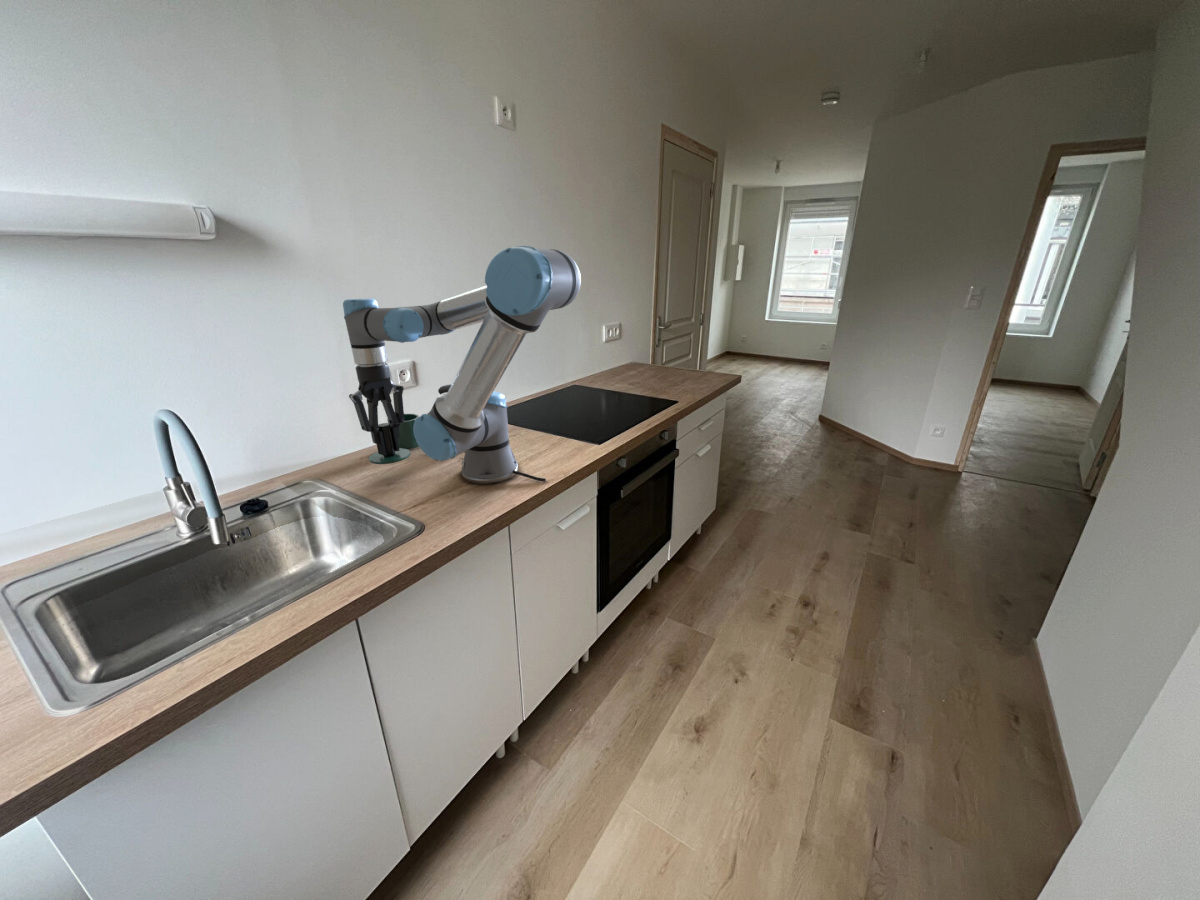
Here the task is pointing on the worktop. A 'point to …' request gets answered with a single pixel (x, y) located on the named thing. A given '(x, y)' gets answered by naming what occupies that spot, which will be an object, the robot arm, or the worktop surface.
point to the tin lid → (388, 448)
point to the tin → (407, 432)
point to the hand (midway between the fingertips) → (389, 451)
